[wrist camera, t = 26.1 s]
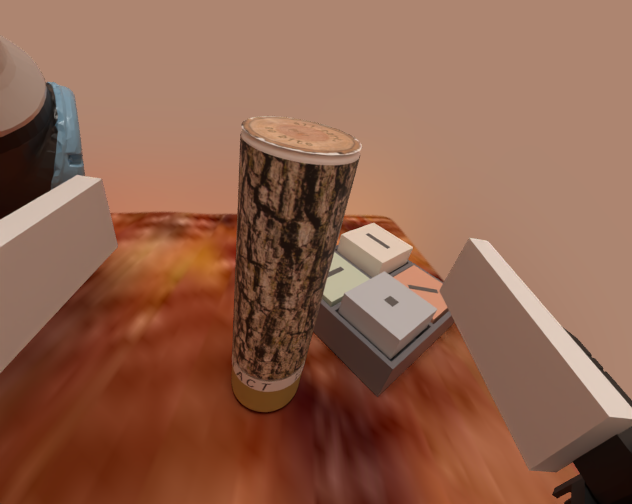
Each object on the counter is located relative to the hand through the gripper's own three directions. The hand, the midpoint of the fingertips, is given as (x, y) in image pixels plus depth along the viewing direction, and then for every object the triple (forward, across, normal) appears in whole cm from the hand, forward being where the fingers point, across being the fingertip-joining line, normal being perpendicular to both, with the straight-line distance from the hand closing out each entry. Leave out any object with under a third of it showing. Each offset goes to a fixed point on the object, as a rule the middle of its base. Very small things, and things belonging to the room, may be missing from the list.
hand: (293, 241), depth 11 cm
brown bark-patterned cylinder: (+8, 0, -23) cm, 25 cm away
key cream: (+27, +13, -18) cm, 35 cm away
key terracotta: (+20, +19, -21) cm, 34 cm away
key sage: (+21, +6, -21) cm, 30 cm away
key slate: (+14, +12, -18) cm, 26 cm away
